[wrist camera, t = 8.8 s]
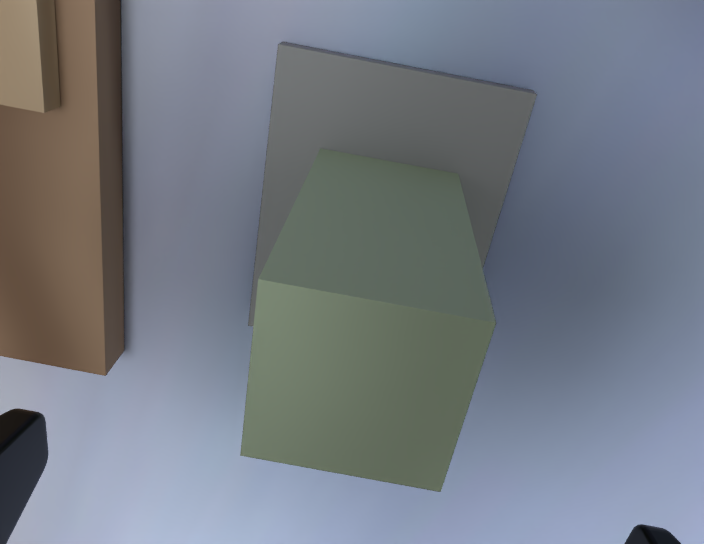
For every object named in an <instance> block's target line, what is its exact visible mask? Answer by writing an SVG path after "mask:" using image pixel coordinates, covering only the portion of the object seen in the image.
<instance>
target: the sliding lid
mask: <svg viewBox="0 0 704 544" xmlns="http://www.w3.org/2000/svg"><path fill="white" fill-rule="evenodd" d="M0 105H5V106H10V107H16V108H21V109H26V110H31V111H36V112H42V113H46V112H48V111H51V110H53V109H56V108H58V107H61V106H60V89H59V72H58V55H57V38H56V21H55V4H54V0H0Z"/></svg>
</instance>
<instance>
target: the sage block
mask: <svg viewBox="0 0 704 544" xmlns="http://www.w3.org/2000/svg"><path fill="white" fill-rule="evenodd" d="M495 325H496V320H495V316H494V312H493V308H492V304H491V300H490V296H489V293H488V289H487V285H486V281H485V277H484V273H483V269H482V265H481V261H480V257H479V253H478V249H477V245H476V241H475V237H474V234H473V230H472V226H471V222H470V218H469V214H468V210H467V206H466V202H465V198H464V194H463V190H462V186H461V182H460V178H459V175H458V174H457V173H452V172H446V171H441V170H435V169H430V168H424V167H419V166H414V165H408V164H403V163H397V162H392V161H386V160H381V159H375V158H370V157H365V156H359V155H354V154H348V153H343V152H337V151H332V150H326V149H321V148H320V150H319V152H318V154H317V157H316V159H315V161H314V163H313V165H312V167H311V169H310V171H309V173H308V176H307V178H306V180H305V182H304V184H303V186H302V188H301V190H300V192H299V194H298V197H297V199H296V201H295V203H294V205H293V207H292V209H291V211H290V213H289V216H288V218H287V220H286V222H285V224H284V226H283V228H282V230H281V232H280V234H279V237H278V239H277V241H276V243H275V245H274V247H273V249H272V251H271V253H270V255H269V258H268V260H267V262H266V264H265V266H264V268H263V270H262V272H261V274H260V277H259V279H258V287H257V296H256V306H255V316H254V326H253V336H252V346H251V356H250V366H249V375H248V385H247V395H246V405H245V415H244V425H243V435H242V445H241V454H240V456H246V457H251V458H257V459H262V460H268V461H273V462H279V463H284V464H290V465H295V466H301V467H306V468H312V469H317V470H323V471H328V472H334V473H339V474H345V475H350V476H356V477H361V478H367V479H372V480H378V481H383V482H389V483H394V484H400V485H405V486H411V487H416V488H421V489H427V490H432V491H438V492H441V489H442V486H443V483H444V480H445V477H446V474H447V471H448V468H449V465H450V462H451V459H452V456H453V452H454V449H455V446H456V443H457V440H458V437H459V434H460V431H461V428H462V425H463V422H464V419H465V416H466V413H467V410H468V407H469V404H470V401H471V398H472V395H473V392H474V389H475V386H476V383H477V380H478V377H479V373H480V370H481V367H482V364H483V361H484V358H485V355H486V352H487V349H488V346H489V343H490V340H491V337H492V334H493V331H494V328H495Z"/></svg>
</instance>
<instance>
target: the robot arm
mask: <svg viewBox="0 0 704 544" xmlns="http://www.w3.org/2000/svg"><path fill="white" fill-rule="evenodd" d="M47 459H48V443H47V432H46V421H45V417H44V416H43V414H41V413H39V412H35V411H29V410H24V409H13V410H10V411H8V412H6V413H4V414H2V415H0V544H6V543H7V541H8V539H9V537H10V535H11V534H12V532H13V530H14V528H15V526H16V524H17V522H18V520H19V518H20V516H21V514H22V512H23V510H24V508H25V506H26V504H27V502H28V500H29V498H30V496H31V494H32V492H33V490H34V488H35V487H36V485H37V483H38V481H39V479H40V477H41V475H42V473H43V471H44V469H45V466H46V463H47ZM625 544H681V543H680V542H679V541H678V540H677V539H676V538H675V537H674V536H673V535H672V534H671V533H670V532H669V531H667V530H666V529H663V528H659V527H654V526H648V525H643V524H641V525H637V526H636V527H634V528H633V530H632V532H631V533H630V535H629V537H628V539H627V540H626V542H625Z"/></svg>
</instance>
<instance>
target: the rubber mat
mask: <svg viewBox="0 0 704 544" xmlns="http://www.w3.org/2000/svg"><path fill="white" fill-rule="evenodd" d="M536 96H537V94H536V93H535V92H534V91H533V90H529V89H524V88H519V87H514V86H509V85H503V84H498V83H493V82H488V81H483V80H478V79H472V78H467V77H462V76H457V75H452V74H447V73H441V72H436V71H431V70H426V69H421V68H416V67H410V66H405V65H400V64H395V63H390V62H385V61H379V60H374V59H369V58H364V57H359V56H354V55H348V54H343V53H338V52H333V51H328V50H323V49H318V48H312V47H307V46H302V45H297V44H292V43H287V42H281V43H279V44H278V50H277V59H276V69H275V78H274V88H273V97H272V106H271V116H270V125H269V135H268V144H267V153H266V163H265V172H264V181H263V191H262V200H261V210H260V219H259V228H258V238H257V247H256V257H255V266H254V275H253V285H252V294H251V303H250V313H249V322H248V326H254V316H255V306H256V296H257V287H258V279H259V277H260V274H261V272H262V270H263V268H264V266H265V264H266V262H267V260H268V258H269V255H270V253H271V251H272V249H273V247H274V245H275V243H276V241H277V239H278V237H279V234H280V232H281V230H282V228H283V226H284V224H285V222H286V220H287V218H288V216H289V213H290V211H291V209H292V207H293V205H294V203H295V201H296V199H297V197H298V194H299V192H300V190H301V188H302V186H303V184H304V182H305V180H306V178H307V176H308V173H309V171H310V169H311V167H312V165H313V163H314V161H315V159H316V157H317V154H318V152H319V150H320V148H321V149H326V150H332V151H337V152H343V153H348V154H354V155H359V156H365V157H370V158H375V159H381V160H386V161H392V162H397V163H403V164H408V165H414V166H419V167H424V168H430V169H435V170H441V171H446V172H452V173H457V174H458V175H459V178H460V182H461V186H462V190H463V194H464V198H465V202H466V206H467V210H468V214H469V218H470V222H471V226H472V230H473V234H474V237H475V241H476V245H477V249H478V253H479V257H480V261H481V265H482V269H483V266H484V263H485V260H486V257H487V253H488V250H489V247H490V244H491V241H492V237H493V234H494V231H495V228H496V225H497V221H498V218H499V215H500V212H501V208H502V205H503V202H504V199H505V196H506V192H507V189H508V186H509V183H510V180H511V176H512V173H513V170H514V167H515V164H516V160H517V157H518V154H519V151H520V147H521V144H522V141H523V138H524V135H525V131H526V128H527V125H528V122H529V119H530V115H531V112H532V109H533V106H534V102H535V99H536Z"/></svg>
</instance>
